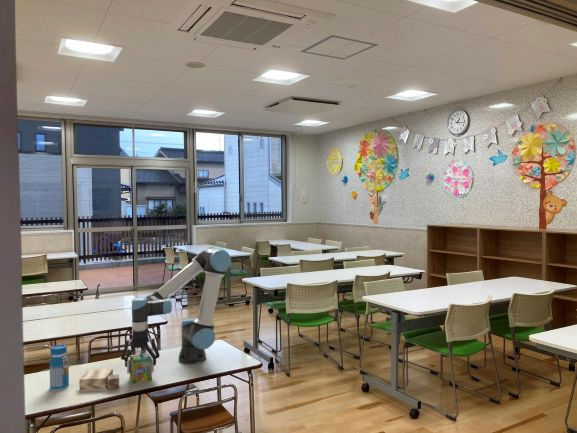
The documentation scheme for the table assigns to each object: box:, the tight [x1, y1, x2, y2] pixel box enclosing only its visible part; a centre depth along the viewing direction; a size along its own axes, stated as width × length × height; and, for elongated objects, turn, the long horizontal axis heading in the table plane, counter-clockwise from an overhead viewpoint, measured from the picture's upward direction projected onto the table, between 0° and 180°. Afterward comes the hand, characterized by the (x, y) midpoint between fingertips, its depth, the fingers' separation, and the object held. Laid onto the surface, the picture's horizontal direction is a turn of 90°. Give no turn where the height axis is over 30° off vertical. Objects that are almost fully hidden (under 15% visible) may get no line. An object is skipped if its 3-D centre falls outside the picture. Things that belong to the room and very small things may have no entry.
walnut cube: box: [107, 373, 120, 391], centre depth 211 cm, size 5×5×5 cm
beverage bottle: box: [48, 344, 70, 391], centre depth 212 cm, size 8×8×20 cm
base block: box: [78, 368, 114, 390], centre depth 215 cm, size 12×12×5 cm
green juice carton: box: [129, 348, 153, 384], centre depth 221 cm, size 9×9×15 cm
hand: (140, 372), depth 221 cm, fingers closed on green juice carton, 11 cm apart
